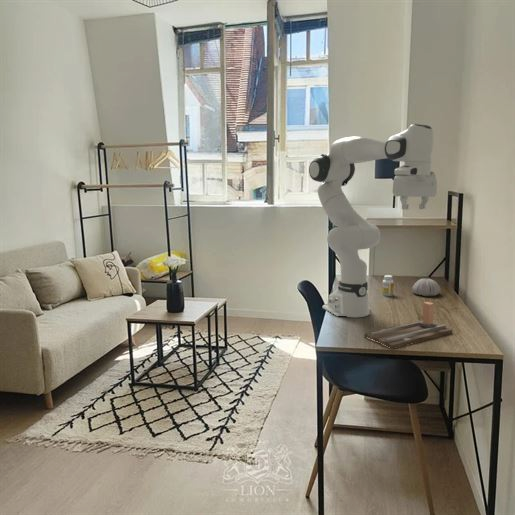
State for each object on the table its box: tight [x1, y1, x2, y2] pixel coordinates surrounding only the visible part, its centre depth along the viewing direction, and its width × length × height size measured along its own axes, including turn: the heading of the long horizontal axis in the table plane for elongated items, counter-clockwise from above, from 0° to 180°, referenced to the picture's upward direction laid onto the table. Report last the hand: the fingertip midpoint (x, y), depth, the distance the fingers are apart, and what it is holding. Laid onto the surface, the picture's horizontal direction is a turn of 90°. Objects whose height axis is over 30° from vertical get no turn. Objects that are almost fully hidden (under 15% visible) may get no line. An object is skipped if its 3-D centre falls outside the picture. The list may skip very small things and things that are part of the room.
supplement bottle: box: [381, 274, 395, 297], centre depth 230 cm, size 5×5×10 cm
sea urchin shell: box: [411, 277, 442, 297], centre depth 231 cm, size 13×14×8 cm
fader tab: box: [419, 301, 438, 328], centre depth 176 cm, size 5×4×9 cm
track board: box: [363, 319, 453, 349], centre depth 173 cm, size 14×31×2 cm, turn 119°
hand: (413, 209), depth 167 cm, fingers open, 8 cm apart
